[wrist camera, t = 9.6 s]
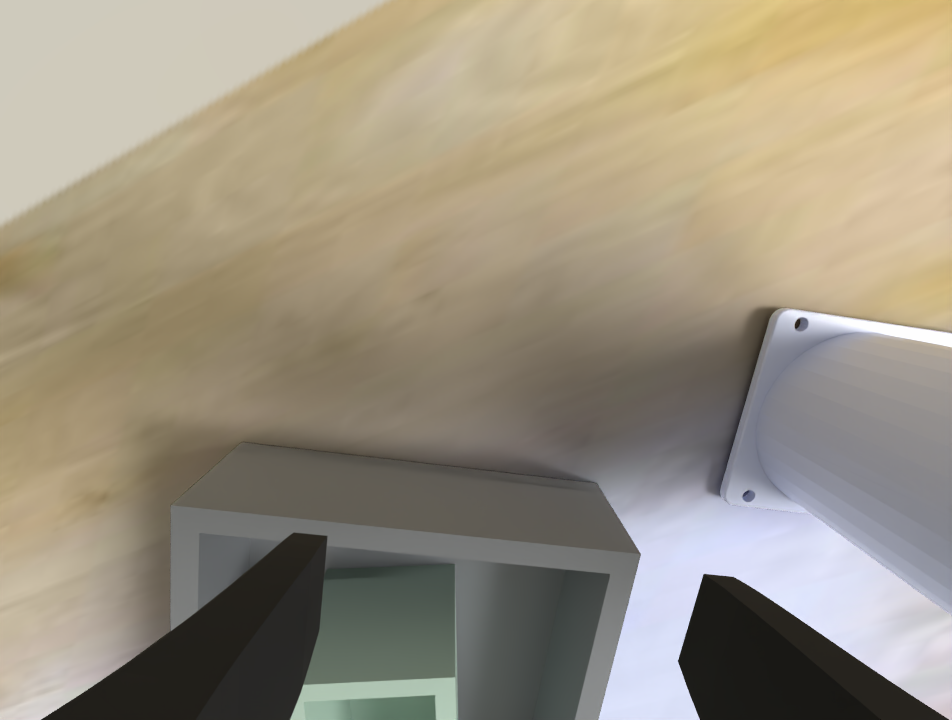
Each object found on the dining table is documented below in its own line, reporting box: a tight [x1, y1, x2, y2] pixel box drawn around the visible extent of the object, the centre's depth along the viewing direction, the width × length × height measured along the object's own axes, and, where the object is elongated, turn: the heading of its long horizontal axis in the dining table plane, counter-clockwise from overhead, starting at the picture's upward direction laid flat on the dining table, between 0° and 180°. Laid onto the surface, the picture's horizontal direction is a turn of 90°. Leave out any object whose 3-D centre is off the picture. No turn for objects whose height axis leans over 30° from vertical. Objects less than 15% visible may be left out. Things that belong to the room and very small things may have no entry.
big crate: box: [170, 442, 641, 720], centre depth 18 cm, size 14×18×4 cm
